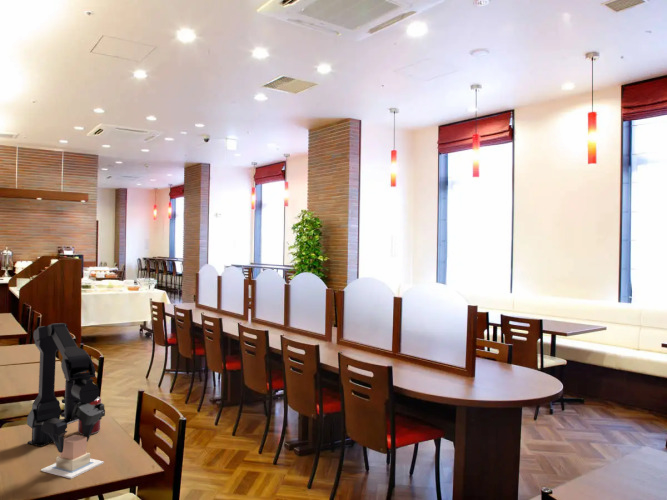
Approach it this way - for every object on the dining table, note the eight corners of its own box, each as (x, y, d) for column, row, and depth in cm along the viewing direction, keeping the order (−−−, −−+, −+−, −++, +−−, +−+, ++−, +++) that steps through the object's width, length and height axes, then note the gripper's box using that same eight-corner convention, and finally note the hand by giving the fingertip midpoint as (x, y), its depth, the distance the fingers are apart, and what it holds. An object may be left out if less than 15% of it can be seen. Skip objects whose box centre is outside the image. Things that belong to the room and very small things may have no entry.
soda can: (91, 436, 180) (92, 402, 180) (73, 434, 181) (74, 400, 181) (104, 429, 187) (105, 396, 187) (87, 427, 188) (88, 395, 188)
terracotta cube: (60, 456, 153) (60, 440, 153) (73, 450, 158) (74, 434, 158) (72, 459, 152) (73, 442, 152) (86, 453, 156) (86, 437, 156)
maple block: (56, 467, 153) (56, 457, 153) (74, 459, 159) (74, 449, 159) (72, 471, 151) (72, 461, 151) (89, 462, 157) (90, 453, 157)
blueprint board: (41, 470, 151) (41, 468, 151) (74, 456, 163) (74, 454, 163) (71, 478, 147) (71, 476, 147) (103, 463, 158) (103, 461, 158)
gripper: (69, 407, 143) (67, 463, 143) (119, 391, 161) (117, 441, 161) (40, 402, 147) (38, 456, 147) (92, 386, 165) (90, 435, 165)
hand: (73, 446), depth 155 cm, fingers open, 9 cm apart
